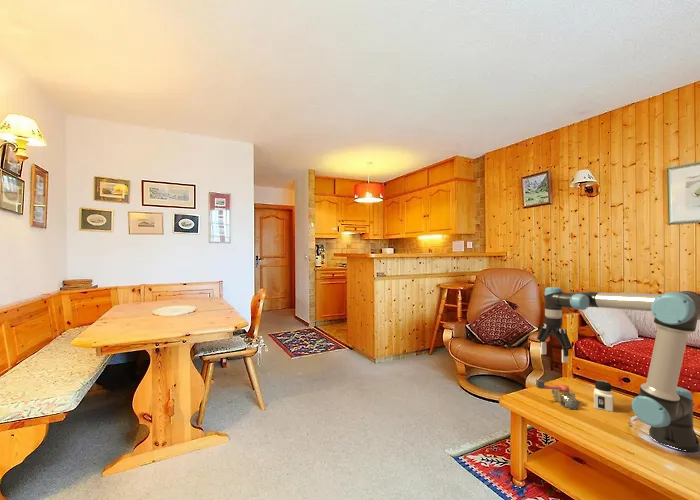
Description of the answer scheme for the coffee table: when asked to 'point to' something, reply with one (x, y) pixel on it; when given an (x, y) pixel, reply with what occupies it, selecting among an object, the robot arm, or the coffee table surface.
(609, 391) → the container
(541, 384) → the lever
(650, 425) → the robot arm
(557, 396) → the valve pipe
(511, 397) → the coffee table surface
